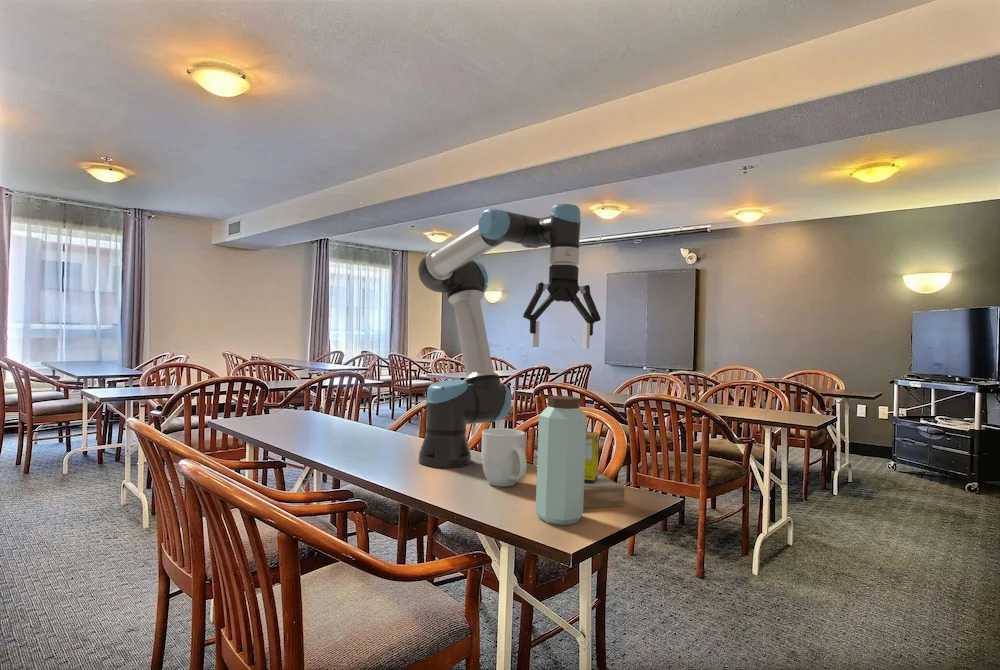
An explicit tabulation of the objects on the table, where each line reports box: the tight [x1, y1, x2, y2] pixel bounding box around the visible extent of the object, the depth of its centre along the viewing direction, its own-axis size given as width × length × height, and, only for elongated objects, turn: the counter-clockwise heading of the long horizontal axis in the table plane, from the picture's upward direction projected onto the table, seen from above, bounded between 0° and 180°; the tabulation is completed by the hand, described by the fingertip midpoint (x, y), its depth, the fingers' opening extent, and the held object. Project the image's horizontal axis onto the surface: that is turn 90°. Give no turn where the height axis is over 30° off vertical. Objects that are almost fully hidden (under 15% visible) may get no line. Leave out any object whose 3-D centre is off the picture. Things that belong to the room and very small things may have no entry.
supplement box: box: [584, 431, 600, 484], centre depth 130 cm, size 6×6×11 cm
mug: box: [481, 427, 528, 488], centre depth 138 cm, size 15×11×13 cm
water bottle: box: [535, 395, 588, 526], centre depth 115 cm, size 10×10×25 cm
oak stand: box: [583, 472, 625, 509], centre depth 130 cm, size 14×14×4 cm
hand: (561, 347), depth 143 cm, fingers open, 13 cm apart
